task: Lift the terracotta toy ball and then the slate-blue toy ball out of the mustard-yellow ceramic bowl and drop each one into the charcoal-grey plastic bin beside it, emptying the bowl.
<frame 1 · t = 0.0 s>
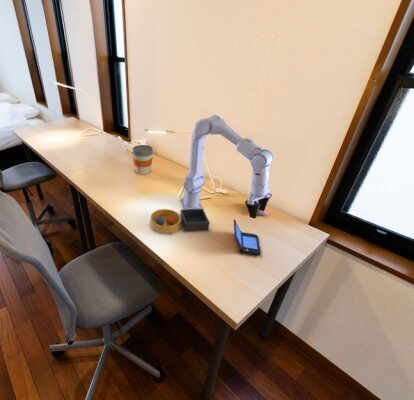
hand: (257, 213, 103), 11 cm above the table, tool pointing down, fingers open, 7 cm apart
slate-blue ball: (160, 220, 112), point 2 cm above the table, touching bowl
terracotta ball: (171, 220, 113), point 2 cm above the table, touching bowl
bin: (193, 223, 114), on the table
bowl: (165, 224, 114), on the table
handheld console: (244, 244, 103), on the table
reusable coffee cup: (142, 171, 161), on the table
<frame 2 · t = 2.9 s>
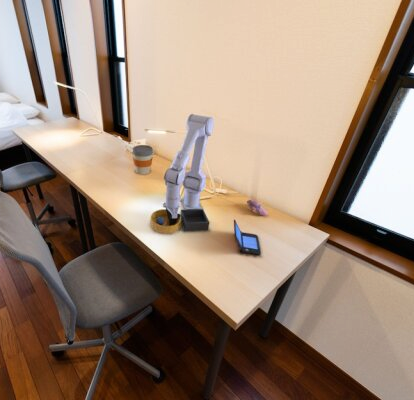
hand: (170, 222, 113), 1 cm above the table, tool pointing down, fingers open, 6 cm apart
nothing on the table moved.
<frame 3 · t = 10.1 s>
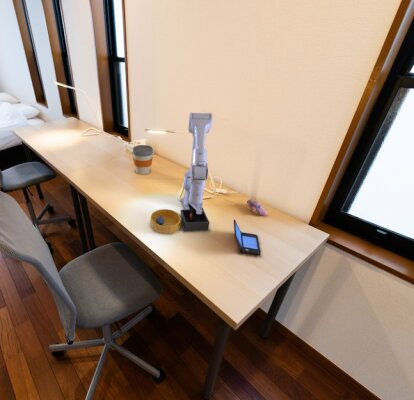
hand: (193, 218, 115), 2 cm above the table, tool pointing down, fingers closed on terracotta ball, 3 cm apart
terracotta ball: (193, 216, 114), point 3 cm above the table, touching gripper
everything else where it was.
when the fingers open (5 cm above the table, at t = 20.9 s): terracotta ball drops 4 cm, resting on bin.
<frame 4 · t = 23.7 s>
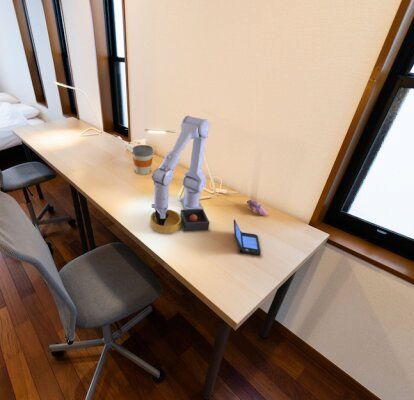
hand: (160, 222, 113), 1 cm above the table, tool pointing down, fingers open, 5 cm apart
terracotta ball: (193, 218, 114), point 2 cm above the table, tilted 13°, touching bin
everything else where it was.
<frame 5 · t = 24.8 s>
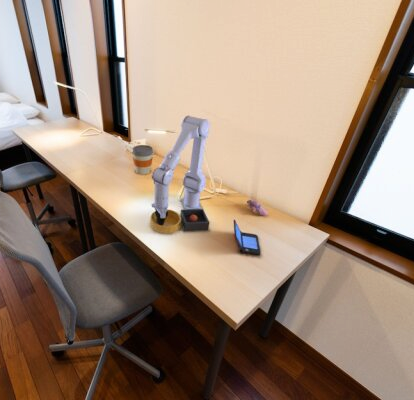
hand: (160, 221, 113), 2 cm above the table, tool pointing down, fingers closed on slate-blue ball, 3 cm apart
slate-blue ball: (160, 220, 112), point 3 cm above the table, touching gripper
terracotta ball: (193, 218, 114), point 2 cm above the table, tilted 19°, touching bin
everything else where it was.
when the fingers open (4 cm above the table, at t = 28.0 s): slate-blue ball drops 1 cm and tips over, resting on terracotta ball.
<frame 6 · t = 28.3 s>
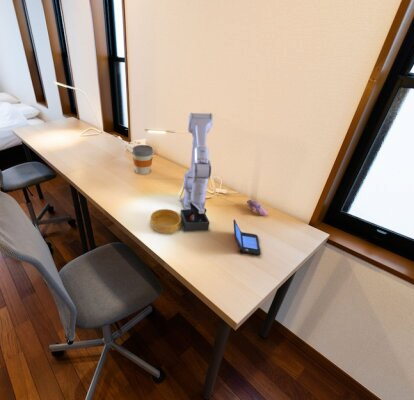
hand: (195, 217, 111), 4 cm above the table, tool pointing down, fingers open, 5 cm apart
slate-blue ball: (196, 219, 111), point 4 cm above the table, tilted 61°, touching terracotta ball
terracotta ball: (193, 218, 114), point 2 cm above the table, tilted 17°, touching bin, slate-blue ball
everything else where it was.
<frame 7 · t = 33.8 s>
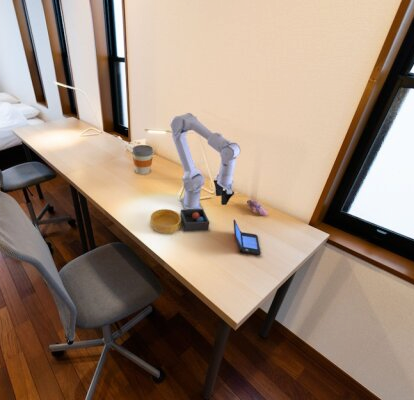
hand: (221, 199, 114), 9 cm above the table, tool pointing down, fingers open, 7 cm apart
slate-blue ball: (200, 220, 113), point 2 cm above the table, tilted 66°, touching bin
terracotta ball: (195, 216, 116), point 2 cm above the table, tilted 59°, touching bin
everything else where it was.
at the end: terracotta ball inside the target area in the bin (3.1 cm from its centre), point 2.2 cm above the bin's base; slate-blue ball inside the target area in the bin (2.8 cm from its centre), point 2.2 cm above the bin's base; the gripper is holding nothing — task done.
